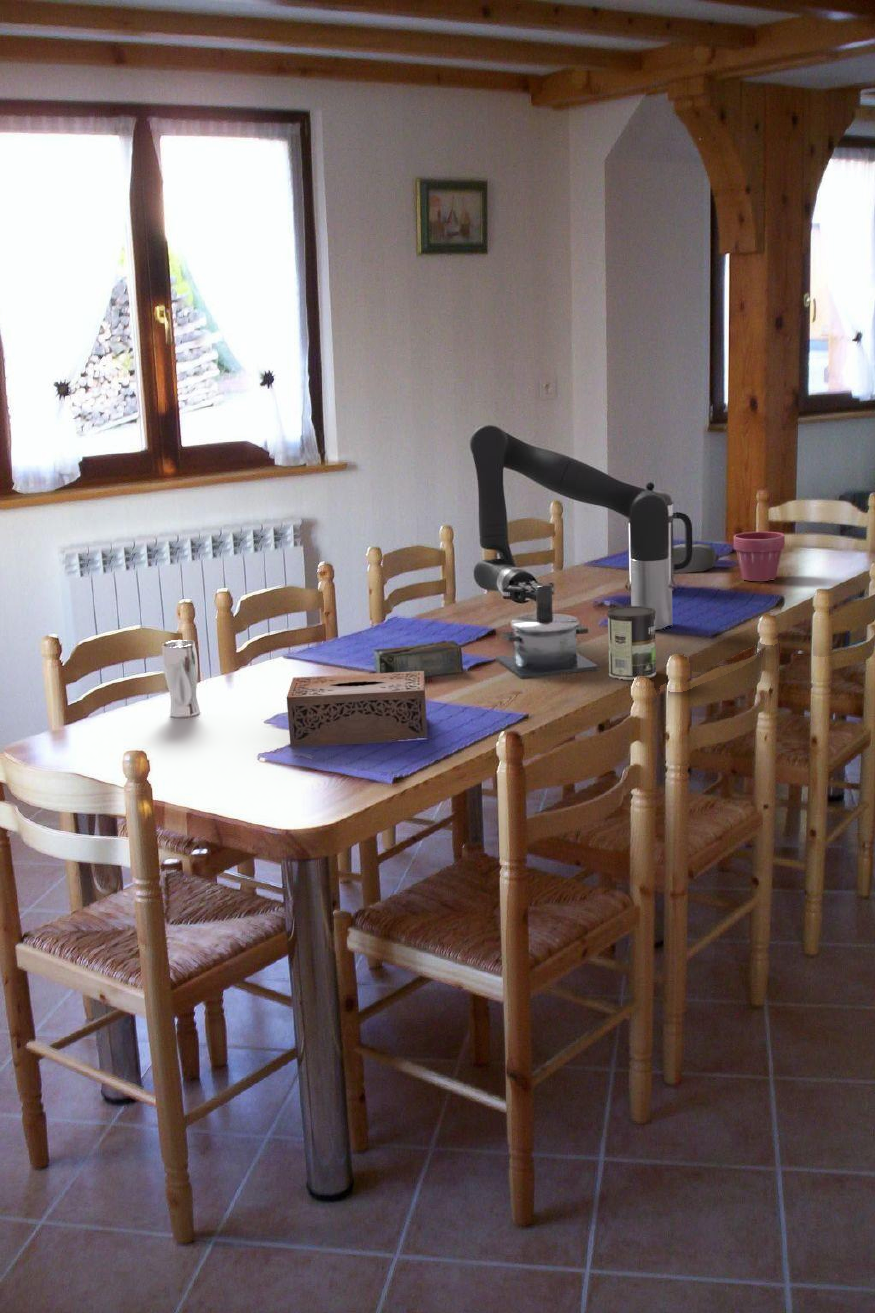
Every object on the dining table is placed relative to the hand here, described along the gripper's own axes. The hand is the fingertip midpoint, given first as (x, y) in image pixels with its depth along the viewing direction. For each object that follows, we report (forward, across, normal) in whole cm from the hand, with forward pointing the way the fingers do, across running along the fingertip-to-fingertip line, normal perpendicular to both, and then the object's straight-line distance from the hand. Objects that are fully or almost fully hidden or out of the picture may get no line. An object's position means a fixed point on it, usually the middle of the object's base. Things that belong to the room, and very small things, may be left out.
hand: (541, 597), depth 309 cm
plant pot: (-62, +87, +15) cm, 108 cm away
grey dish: (-87, +76, +15) cm, 116 cm away
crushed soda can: (+7, -81, +15) cm, 83 cm away
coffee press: (-64, +56, +15) cm, 86 cm away
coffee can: (+18, +14, +15) cm, 27 cm away
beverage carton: (-4, -28, +16) cm, 32 cm away
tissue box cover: (+35, -50, +16) cm, 63 cm away
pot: (+2, 0, +15) cm, 15 cm away
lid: (+2, 0, +6) cm, 6 cm away
